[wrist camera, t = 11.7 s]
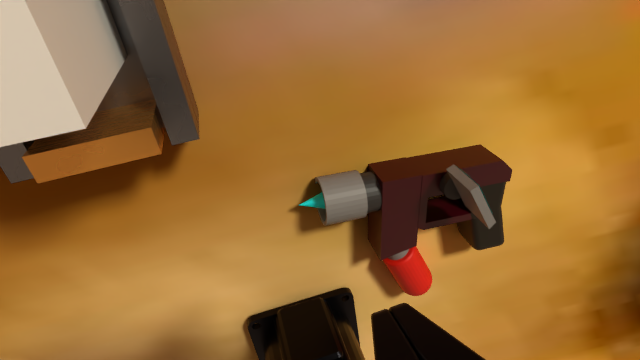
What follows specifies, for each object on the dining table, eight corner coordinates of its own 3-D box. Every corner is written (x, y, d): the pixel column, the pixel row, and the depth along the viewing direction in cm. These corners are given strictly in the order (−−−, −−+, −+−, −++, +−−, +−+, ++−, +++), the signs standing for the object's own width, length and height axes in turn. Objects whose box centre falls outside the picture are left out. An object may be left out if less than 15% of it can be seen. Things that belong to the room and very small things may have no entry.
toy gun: (290, 164, 21) (314, 218, 17) (501, 127, 23) (567, 167, 19) (304, 300, 26) (325, 368, 22) (476, 259, 28) (524, 313, 24)
